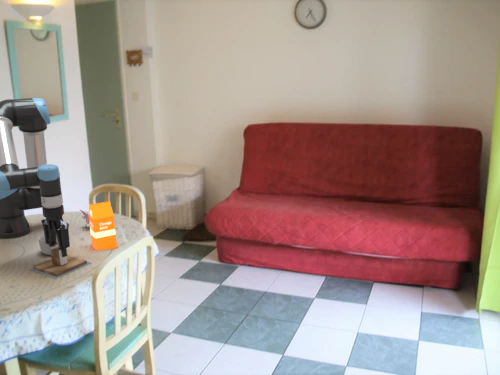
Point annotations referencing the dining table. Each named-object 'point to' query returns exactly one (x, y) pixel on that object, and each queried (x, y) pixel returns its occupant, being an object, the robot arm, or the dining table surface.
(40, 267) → the lid
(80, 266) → the mat
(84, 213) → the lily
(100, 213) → the orange juice
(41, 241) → the teacup
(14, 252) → the dining table surface
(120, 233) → the dining table surface
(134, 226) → the dining table surface
